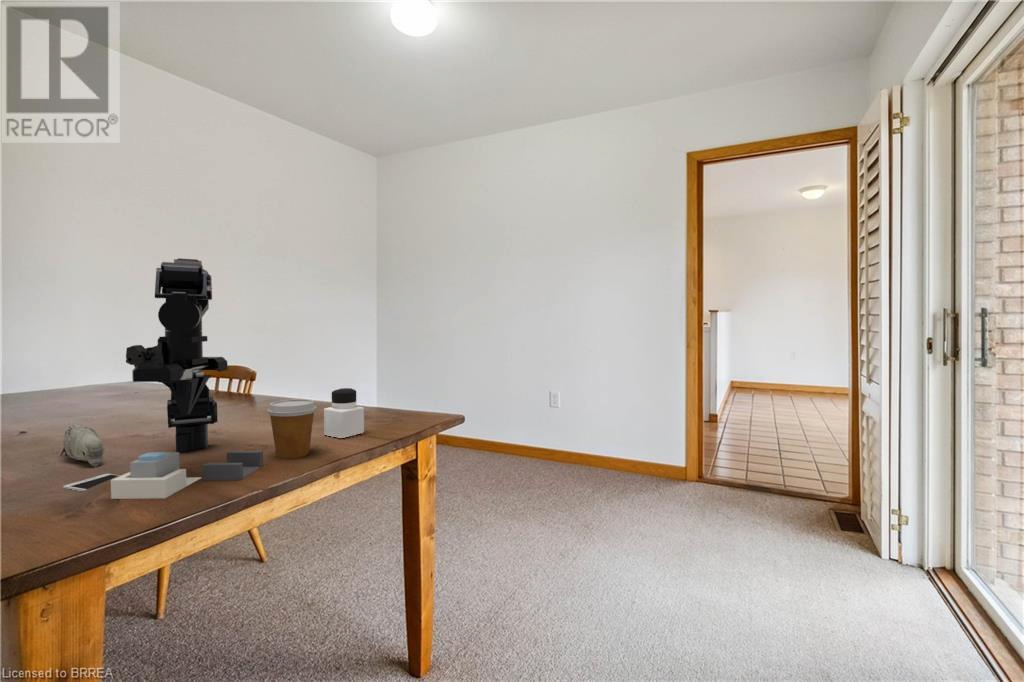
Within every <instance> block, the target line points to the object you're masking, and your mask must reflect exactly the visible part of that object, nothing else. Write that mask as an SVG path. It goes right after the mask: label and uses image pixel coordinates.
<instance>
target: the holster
mask: <svg viewBox="0 0 1024 682" xmlns="http://www.w3.org/2000/svg"><path fill="white" fill-rule="evenodd" d="M263 465H264V450H229V451H227V452H226V462H206V463H204V464H202V480H203V481H240V480H242V479H244V478H245V477H247V476H249V475H250V474H252V473H253V472H254V471H256V470H258V469H259V468H261V467H262V466H263Z"/></svg>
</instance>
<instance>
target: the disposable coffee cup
mask: <svg viewBox="0 0 1024 682" xmlns="http://www.w3.org/2000/svg"><path fill="white" fill-rule="evenodd" d="M316 409H317V406H316V405H315V402H314V400H312V399H307V398H306V399H304V398H302V399H301V398H300V399H299V398H297V399H285V400H284V399H283V400H277V401H272V402H270V403H269V408H268V409H267V412H268V415H269V417H270V424H271V429H272V431H271V432H272V436H273V444H274V449H275V456H276V458H278V459H297V458H302V457H305V456H307V455H309V454H310V448H311V441H312V440H311V438H312V430H313V423H314V414H315V412H316Z"/></svg>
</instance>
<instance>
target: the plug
mask: <svg viewBox="0 0 1024 682" xmlns="http://www.w3.org/2000/svg"><path fill="white" fill-rule="evenodd" d="M129 467H130V468H129V472H130V478H149V477H164V476H166V475H168V474H170V473H172V472H174V471H176V470H178V469H180V453H179V452H172V451H164V452H163V451H160V452H159V451H156V452H154V451H153V452H152V451H151V452H150V451H149V452H146V453H143V454H141V455H139V456H138V457H137V459H135V460H134V461H130V462H129Z"/></svg>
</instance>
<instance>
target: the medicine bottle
mask: <svg viewBox="0 0 1024 682" xmlns="http://www.w3.org/2000/svg"><path fill="white" fill-rule="evenodd" d="M323 425H324V426H323V434H324V436H325V435H327V436H326V437H328V436H331V437H330V438H333V437H337V438H345V437H349V436H352V435H356V434H360V433H363V432H364V433H365V408H364V407H363V406H358V405H357V391H356V389H354V388H350V387H347V388H346V387H344V388H343V387H342V388H336V389H334V390H332V391H331V406H330V407H326V408H325V407H324V409H323ZM337 438H336V439H337Z"/></svg>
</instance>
